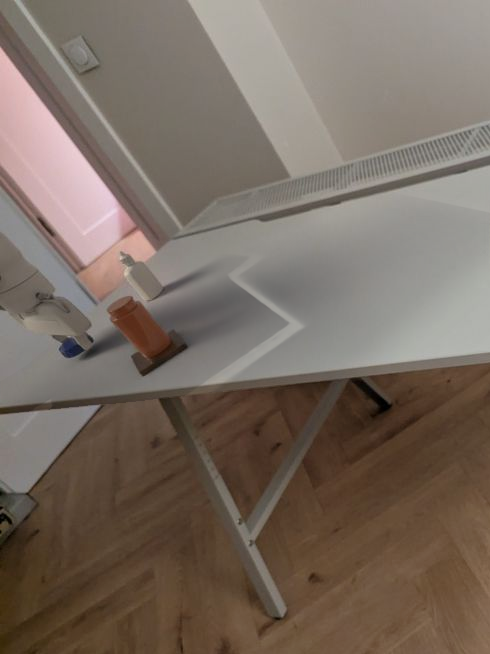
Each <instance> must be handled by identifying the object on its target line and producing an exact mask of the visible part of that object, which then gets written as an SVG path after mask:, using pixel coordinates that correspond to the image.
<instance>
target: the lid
mask: <svg viewBox="0 0 490 654" xmlns="http://www.w3.org/2000/svg"><path fill="white" fill-rule="evenodd" d="M85 333H86V335H87V338H88V339H89V340H90V341H91V342H92V344H93V345H94V341H95V340H94V338H93V337H92V336H91V334H89V333H88V332H87V331H86V332H85ZM77 344H78V343H77V342H76V340H75V339H74V338H72V337H71V336H70V337H69V339H68V340H67V341H65V342H64V343H63V344H62V345H61V344H60V346H59V348H58V352H60V354H61V355H62V356H63V357H64V358H66V359H72V358H75V357H77V356H79V355H81V354H82V353H84V352H86V350H83V349H81V348H80V347H79V346H78V345H77Z"/></svg>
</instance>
